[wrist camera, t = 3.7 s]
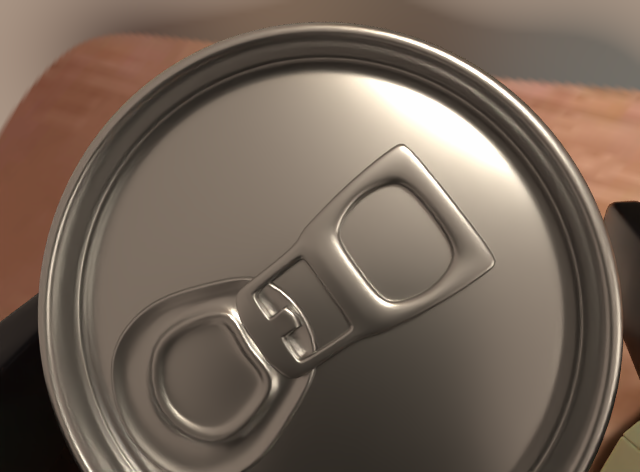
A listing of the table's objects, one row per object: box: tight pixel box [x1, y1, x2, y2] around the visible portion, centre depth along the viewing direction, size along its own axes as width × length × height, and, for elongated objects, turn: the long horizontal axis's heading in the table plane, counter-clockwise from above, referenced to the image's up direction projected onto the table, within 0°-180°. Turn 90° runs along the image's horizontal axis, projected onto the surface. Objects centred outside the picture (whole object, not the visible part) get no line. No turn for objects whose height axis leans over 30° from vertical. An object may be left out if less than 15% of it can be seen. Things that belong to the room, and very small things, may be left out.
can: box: [38, 22, 623, 472], centre depth 10 cm, size 6×6×12 cm
